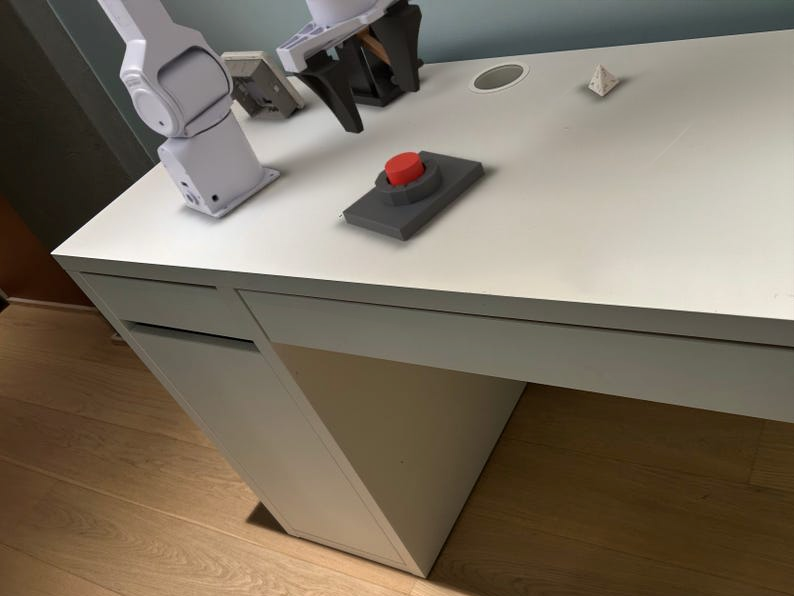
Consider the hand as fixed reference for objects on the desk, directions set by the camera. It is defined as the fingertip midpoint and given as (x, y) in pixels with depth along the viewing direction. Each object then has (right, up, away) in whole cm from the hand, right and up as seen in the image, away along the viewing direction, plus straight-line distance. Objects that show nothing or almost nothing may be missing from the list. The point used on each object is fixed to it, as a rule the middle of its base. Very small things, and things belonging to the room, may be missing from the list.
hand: (383, 110), depth 68 cm
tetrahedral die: (+22, +6, +12) cm, 26 cm away
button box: (+2, -7, +6) cm, 9 cm away
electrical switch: (-20, +11, +34) cm, 41 cm away
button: (+2, -5, +4) cm, 7 cm away
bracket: (-5, +13, +29) cm, 32 cm away
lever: (-4, +15, +24) cm, 29 cm away
